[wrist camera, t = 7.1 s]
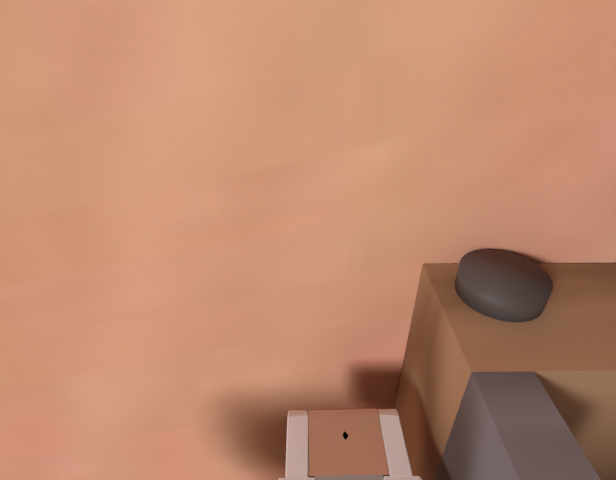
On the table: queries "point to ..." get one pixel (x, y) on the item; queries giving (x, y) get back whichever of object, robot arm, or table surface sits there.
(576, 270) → the cart
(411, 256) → the table surface
